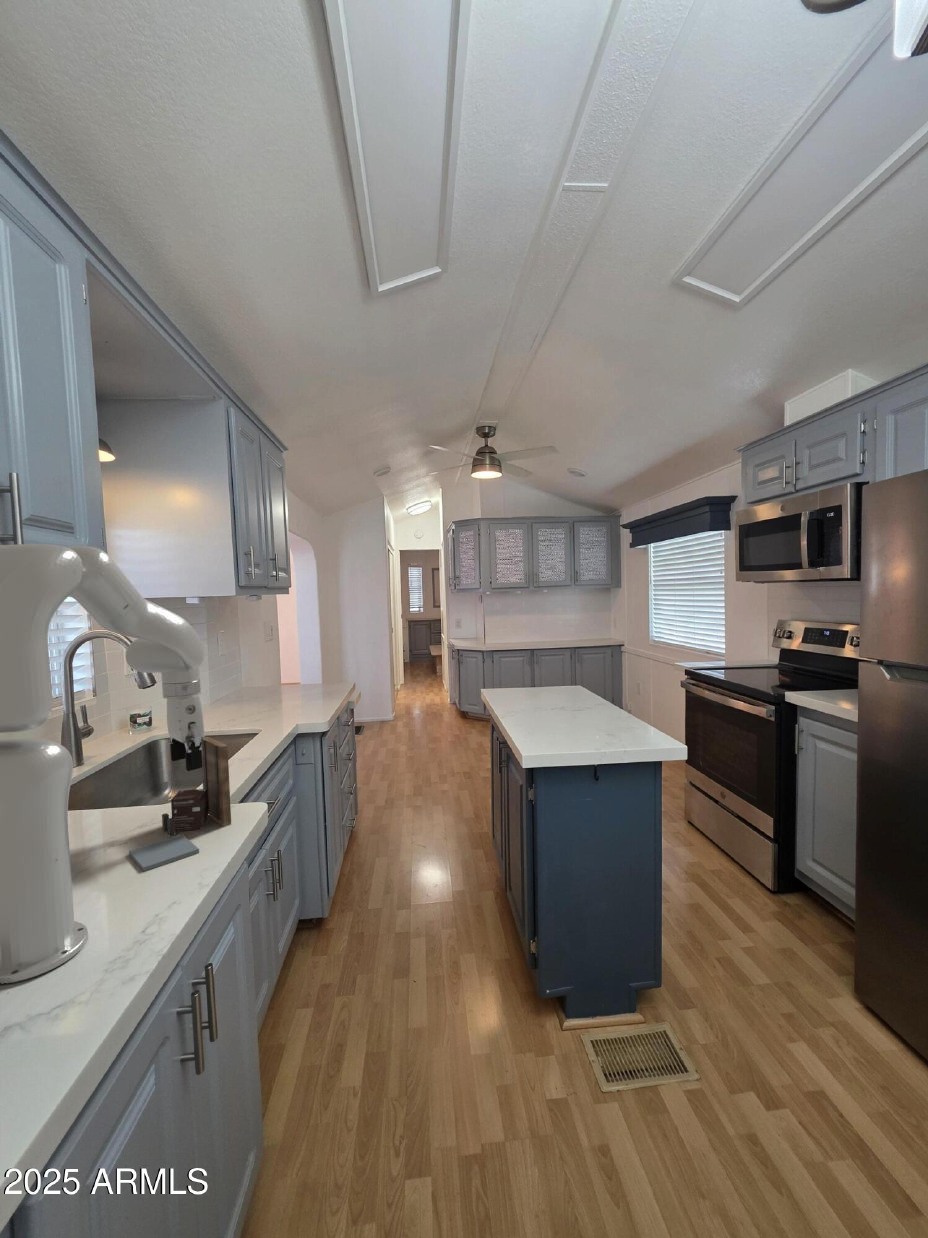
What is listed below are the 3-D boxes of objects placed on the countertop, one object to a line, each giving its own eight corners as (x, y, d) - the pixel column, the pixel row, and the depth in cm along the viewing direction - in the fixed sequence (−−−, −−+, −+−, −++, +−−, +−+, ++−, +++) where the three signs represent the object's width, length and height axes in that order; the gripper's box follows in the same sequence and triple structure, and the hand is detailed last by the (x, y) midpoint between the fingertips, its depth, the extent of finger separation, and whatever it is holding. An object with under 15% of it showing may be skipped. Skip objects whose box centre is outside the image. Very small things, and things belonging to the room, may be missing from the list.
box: (171, 833, 120) (169, 800, 119) (180, 821, 125) (178, 790, 125) (201, 830, 121) (199, 797, 120) (208, 819, 127) (207, 787, 126)
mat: (143, 871, 103) (143, 867, 103) (128, 854, 110) (128, 850, 110) (199, 852, 110) (199, 849, 110) (182, 837, 117) (181, 834, 117)
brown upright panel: (175, 841, 115) (171, 757, 114) (157, 825, 123) (153, 747, 122) (231, 824, 123) (227, 745, 122) (211, 810, 132) (207, 736, 131)
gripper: (214, 691, 118) (218, 768, 119) (186, 682, 130) (190, 752, 131) (176, 697, 112) (182, 778, 113) (151, 687, 124) (156, 760, 126)
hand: (186, 764), depth 122 cm, fingers open, 9 cm apart
